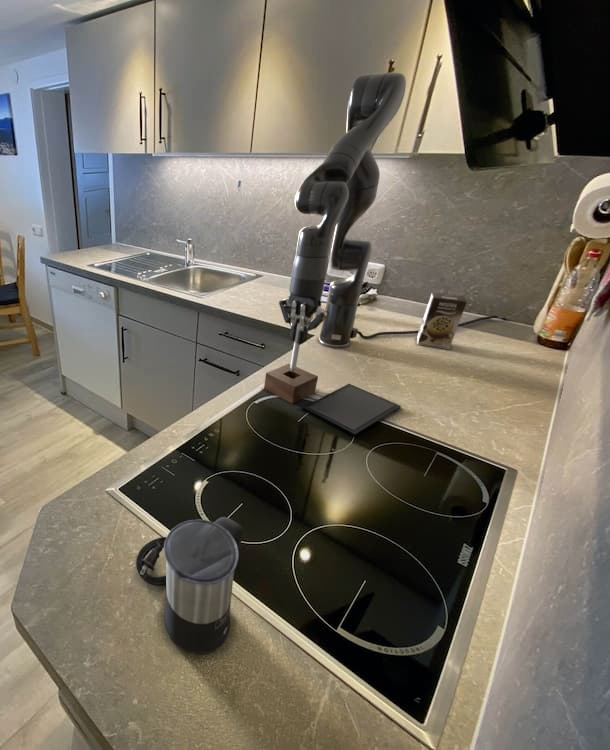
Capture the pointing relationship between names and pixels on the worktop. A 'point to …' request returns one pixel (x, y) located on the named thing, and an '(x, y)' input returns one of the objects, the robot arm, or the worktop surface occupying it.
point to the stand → (290, 383)
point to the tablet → (351, 409)
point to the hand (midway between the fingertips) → (297, 341)
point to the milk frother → (196, 580)
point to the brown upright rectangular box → (441, 320)
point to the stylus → (295, 350)
